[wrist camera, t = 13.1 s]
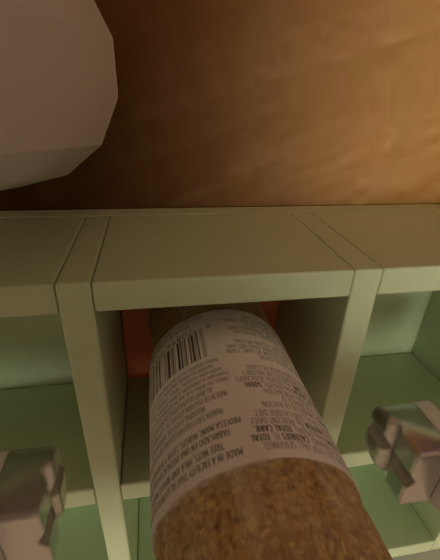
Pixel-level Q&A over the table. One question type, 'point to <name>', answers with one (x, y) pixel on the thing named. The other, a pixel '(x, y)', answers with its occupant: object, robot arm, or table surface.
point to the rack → (206, 291)
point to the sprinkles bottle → (243, 447)
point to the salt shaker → (52, 87)
